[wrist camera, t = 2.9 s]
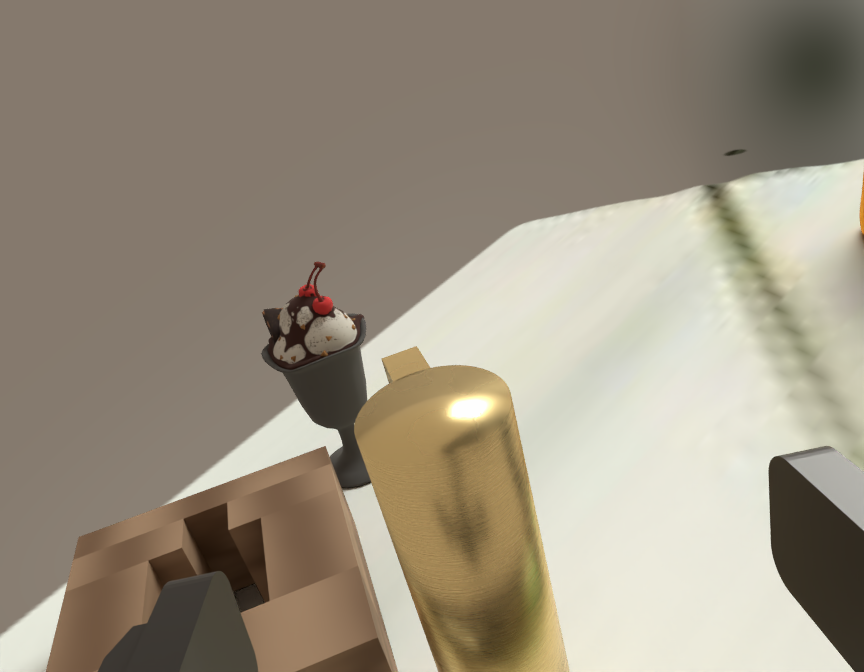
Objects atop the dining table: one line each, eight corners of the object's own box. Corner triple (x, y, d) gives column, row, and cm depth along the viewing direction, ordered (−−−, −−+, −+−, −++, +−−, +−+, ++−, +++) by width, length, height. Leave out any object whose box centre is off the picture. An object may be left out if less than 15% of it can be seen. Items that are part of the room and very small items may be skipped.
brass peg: (545, 675, 31) (462, 330, 23) (612, 806, 26) (537, 423, 17) (453, 715, 30) (333, 375, 22) (504, 858, 25) (372, 486, 17)
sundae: (421, 468, 46) (358, 262, 39) (325, 512, 44) (241, 305, 37) (389, 420, 51) (329, 233, 44) (303, 457, 50) (226, 269, 43)
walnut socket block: (354, 522, 43) (325, 446, 40) (413, 726, 30) (377, 637, 28) (126, 610, 40) (78, 537, 38) (92, 868, 28) (17, 787, 25)
